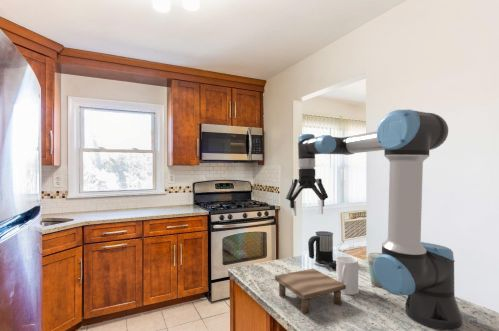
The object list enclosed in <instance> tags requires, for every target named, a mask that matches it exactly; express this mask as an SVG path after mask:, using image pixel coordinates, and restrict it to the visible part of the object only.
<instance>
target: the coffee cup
mask: <svg viewBox="0 0 499 331" xmlns="http://www.w3.org/2000/svg"><path fill="white" fill-rule="evenodd" d="M379 255H382V252H381V253H380V252H370V253H368V256H367V258H366V259H367V261H368V270H369V276H370V283H371V285H372V286H374V287H377V288H383V287H382V286H381V285H380V282H379V281H378V280H377V278H376V276H375V274H374V270H373V263H374V260H375V259H376V258H377V257H378V256H379Z"/></svg>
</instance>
